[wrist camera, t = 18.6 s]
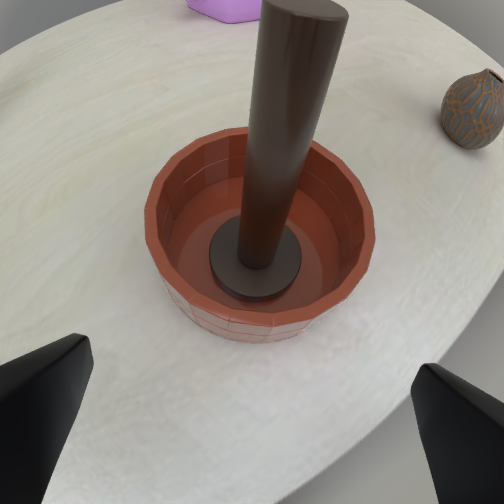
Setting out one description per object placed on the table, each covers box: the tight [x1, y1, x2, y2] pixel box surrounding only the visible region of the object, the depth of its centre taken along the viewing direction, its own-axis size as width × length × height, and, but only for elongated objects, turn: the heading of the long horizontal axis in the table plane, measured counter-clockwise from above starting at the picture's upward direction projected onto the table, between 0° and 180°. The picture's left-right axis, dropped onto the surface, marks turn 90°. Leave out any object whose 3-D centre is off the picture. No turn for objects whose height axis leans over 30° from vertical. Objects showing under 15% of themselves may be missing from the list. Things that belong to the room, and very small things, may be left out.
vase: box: [441, 69, 504, 149], centre depth 23 cm, size 7×7×9 cm
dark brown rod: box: [209, 0, 349, 302], centre depth 12 cm, size 5×5×14 cm
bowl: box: [144, 127, 375, 343], centre depth 17 cm, size 11×11×4 cm
